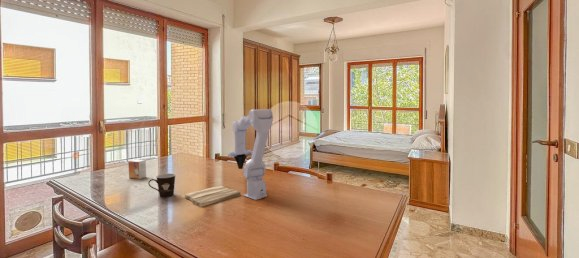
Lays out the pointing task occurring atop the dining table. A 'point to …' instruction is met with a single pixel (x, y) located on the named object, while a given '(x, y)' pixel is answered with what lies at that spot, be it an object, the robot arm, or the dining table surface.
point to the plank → (205, 192)
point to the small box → (137, 169)
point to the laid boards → (216, 197)
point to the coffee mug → (165, 184)
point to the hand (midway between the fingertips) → (240, 168)
